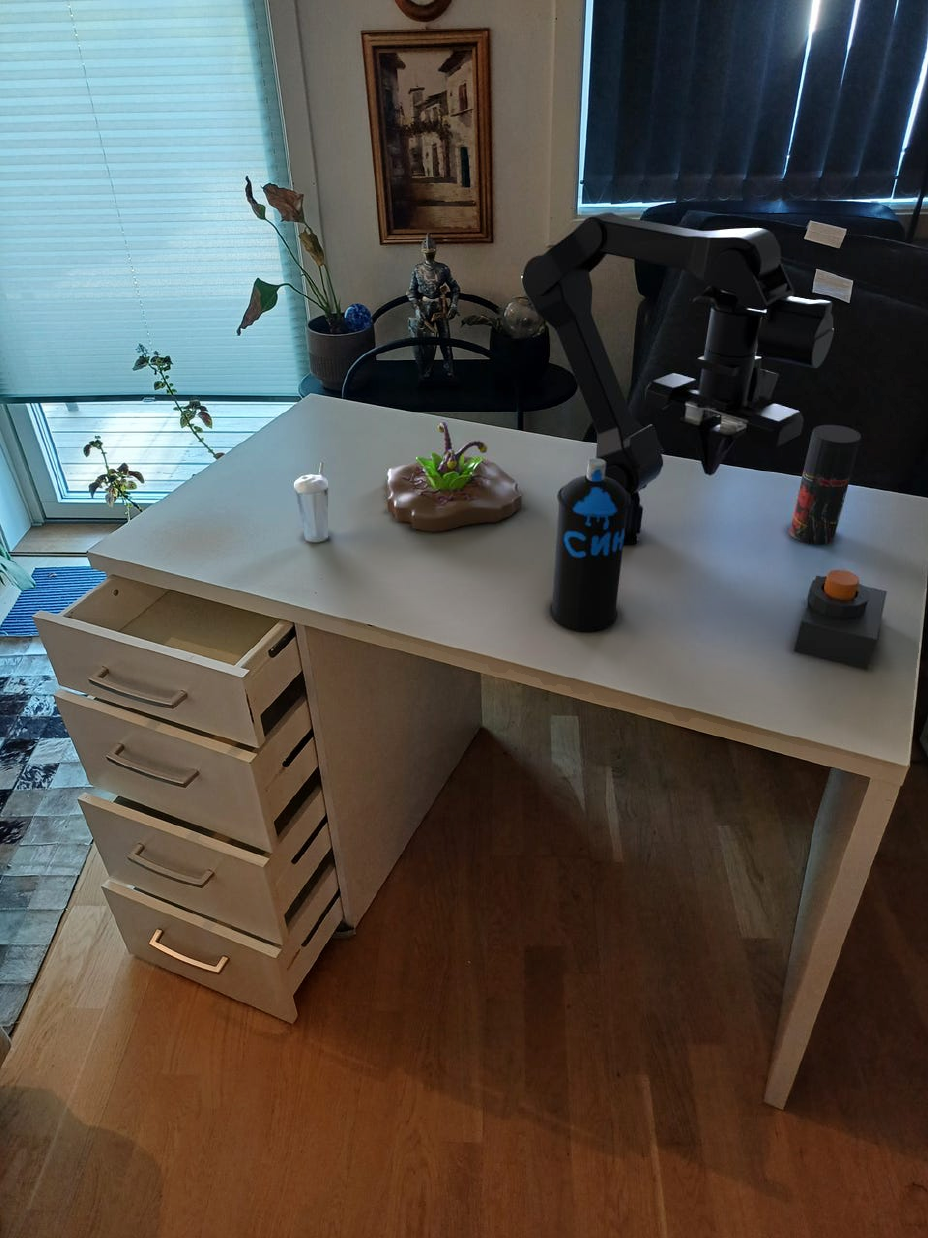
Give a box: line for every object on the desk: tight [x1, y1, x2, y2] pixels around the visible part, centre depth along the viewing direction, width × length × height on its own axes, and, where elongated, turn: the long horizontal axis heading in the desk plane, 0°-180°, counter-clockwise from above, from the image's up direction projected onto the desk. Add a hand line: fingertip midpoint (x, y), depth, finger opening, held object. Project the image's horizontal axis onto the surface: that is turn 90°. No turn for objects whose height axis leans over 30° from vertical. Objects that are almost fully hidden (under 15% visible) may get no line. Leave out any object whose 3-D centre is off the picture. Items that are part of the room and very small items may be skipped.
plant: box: [386, 421, 522, 533], centre depth 132 cm, size 20×20×11 cm
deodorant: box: [789, 424, 862, 546], centre depth 122 cm, size 6×6×15 cm
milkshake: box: [293, 462, 329, 544], centre depth 123 cm, size 4×5×10 cm
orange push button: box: [824, 569, 860, 600], centre depth 102 cm, size 3×3×2 cm
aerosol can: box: [549, 457, 631, 633], centre depth 104 cm, size 8×8×20 cm
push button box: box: [793, 575, 888, 671], centre depth 104 cm, size 11×8×6 cm
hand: (709, 473), depth 112 cm, fingers closed
